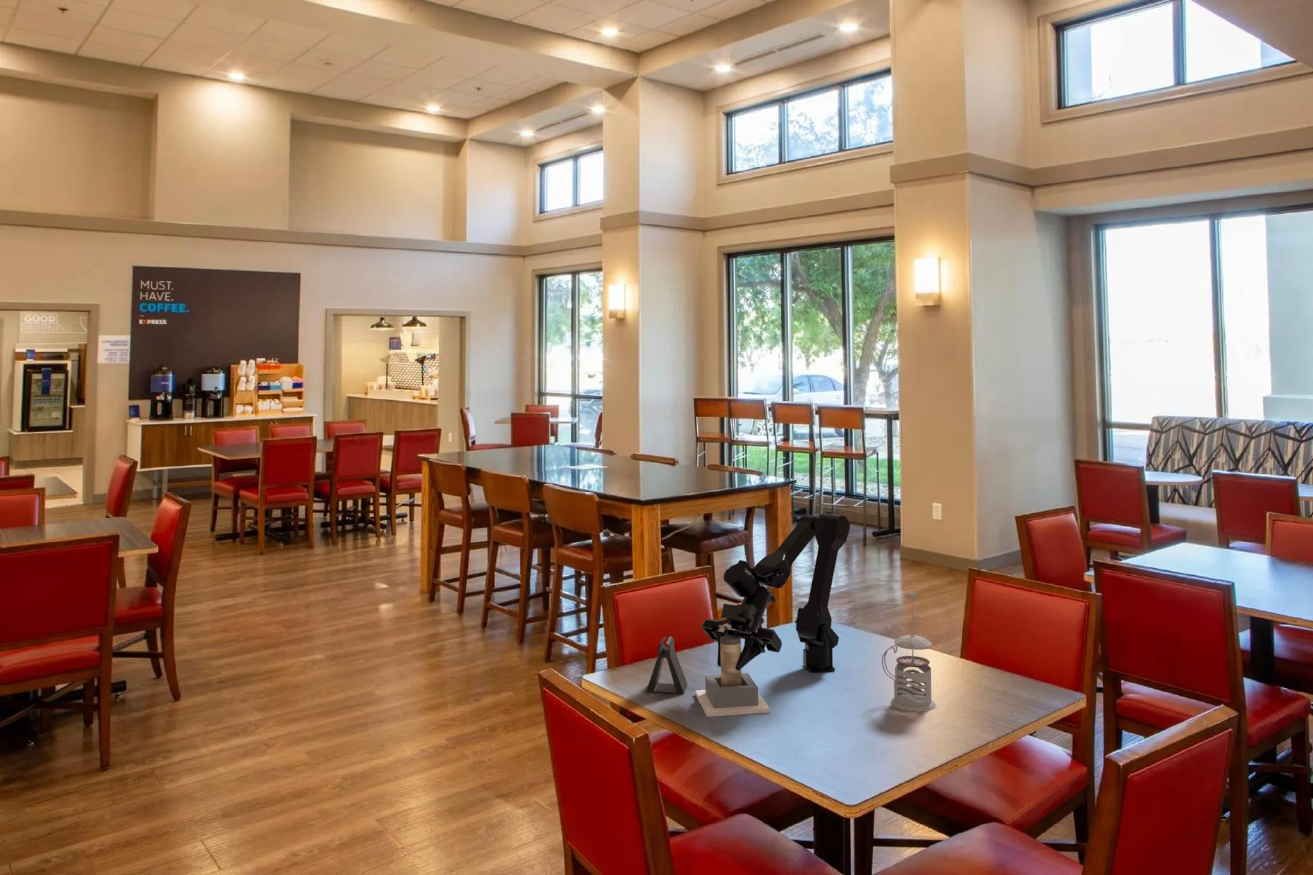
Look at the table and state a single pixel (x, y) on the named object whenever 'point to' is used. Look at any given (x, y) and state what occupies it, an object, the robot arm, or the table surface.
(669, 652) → the phone stand
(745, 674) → the post socket
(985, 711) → the table surface
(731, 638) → the rail post
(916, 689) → the french press
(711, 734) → the table surface
